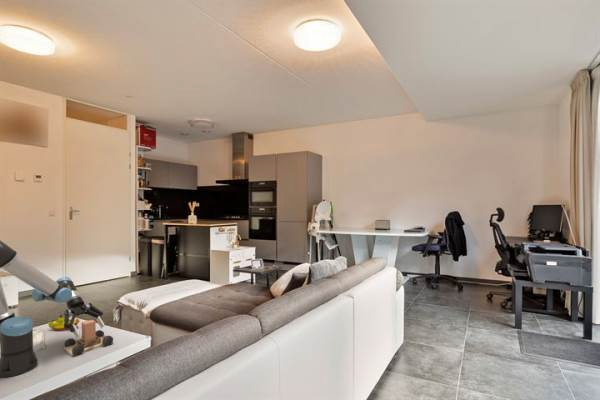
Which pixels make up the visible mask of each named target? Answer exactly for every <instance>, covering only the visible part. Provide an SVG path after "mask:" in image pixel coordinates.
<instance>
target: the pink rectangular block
mask: <svg viewBox="0 0 600 400" xmlns="http://www.w3.org/2000/svg"><path fill="white" fill-rule="evenodd" d="M96 325H97V324H96V320H93V319H90V320H86V321H83V322H81V339H82V342H83V343H86V342H90V341H93V340H96V331H97V330H96V328H97V327H96Z"/></svg>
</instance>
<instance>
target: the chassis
mask: <svg viewBox="0 0 600 400" xmlns="http://www.w3.org/2000/svg"><path fill="white" fill-rule="evenodd" d="M112 344H114V337H113V336H111V335H105V332H104V331H103V330H102V329H98V330H96V340H93V341H90V342H86V343H83V342H82V338H80V339H77V340H76V339H74V338H68V339H66V340H65V341H64V343H63V346H64V347H63V351H64V352H65V353H66V354H68V356H69V357H71V358H73V357H74V356H80V355H82V354H84V353H86V352H90V351H94V350H97V349H99V348H102V347H105V346H106V347H107V346H111V345H112Z"/></svg>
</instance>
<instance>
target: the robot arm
mask: <svg viewBox="0 0 600 400" xmlns="http://www.w3.org/2000/svg"><path fill="white" fill-rule="evenodd" d="M0 269H3V270H4V271H6V272H7V273H9V274H10V275H12V276H14V277H15V278H17V279H18V280H20V281H22V282H23V283H25V284H26V285H28V286H29V287H31V288H33V290H32V292H31V296H32V300H33V301H34V302H43V301H48V302H55V303H59V304H60V303H61V304H63V303H65V304H66V307H67V309H65V310H64V312H63V316H64V318H65V321H64V328H68V329H67V330H70V332H71V333H73V334H74V337H75V339H76V338H79V337H80V331H79V329H78V328H77V327H76V326H77V325H76V326H75V324H74V325H72V324H73V322H74V320H76V317H78V316H80V315H87V316H91V317H92V318H95V319H96V320H95V321H96V322H97V324H98V325H99V327H100V328H101V329H100V330H102V329H103V328H104V327H105V323H104V319H103V317H102V316H103V314H104V311H102V310H101V309H99V308H98V307H96V306H95V305H93V303H91V302H89V303H88V304H85V301H84V299H83V298H82V296H81V294H80V293H79V291H78V289H77V287H76V286H75V284H74V281H73V280H72V279H71V278H70V277H69V276H62V277H60V278H58V279H57V280H54V279H52V278H51V277H49V276H48V275H47V274H45V273H44V272H42V271H41V270H40V269H38V268H36V267H35V266H33V265H32V264H31V263H29V262H28V261H26V260H25V259H23V258H22V257H20V256H18V252H17V251H16V250H14V249H13V248H12V247H11V246H9V245H8V244H6V243H5V242H3V241H2V240H1V239H0ZM2 284H3V283H2V281H1V279H0V378H10V377H15V376H18V375H22V374H25V373H27V372H30V371H32V370H34V369H35V368H36V367H37V366H38V364H39V359H38V356H37V355H36V353H35V351H34V324H33V320H32V318H30V317H29V316H16V314H15V312H14V310H13V309H10V307H9V305H8V302H7V298H6V295H5V292H4V291H5V290H4V288H3V285H2ZM70 314H72V316H71V318H70ZM69 319H70V320H71V321H70V323H69ZM68 323H69V324H68Z"/></svg>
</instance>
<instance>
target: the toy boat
mask: <svg viewBox="0 0 600 400" xmlns="http://www.w3.org/2000/svg"><path fill="white" fill-rule="evenodd" d="M64 321H65V316H63V314H62V313H60V316H59V317H58V318H57V320H52V321H48V323H47V324H48V327H49V329H53V330H56V331H66V330H69V329H68V328H64ZM70 321H71V318H69V323H70ZM69 323H68V324H69ZM79 323H80V319H79V318H78V317H77V318H76V317H75V320H74V322H73V324H72V325H74V324H75V326H76V328H77V329H78V328H79V326H78V324H79Z"/></svg>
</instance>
